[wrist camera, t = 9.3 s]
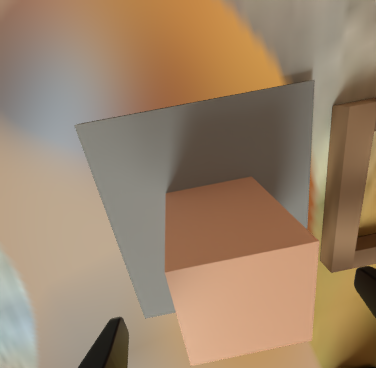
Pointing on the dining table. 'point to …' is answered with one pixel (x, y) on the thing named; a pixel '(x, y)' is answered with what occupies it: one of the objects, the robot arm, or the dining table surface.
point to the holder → (348, 187)
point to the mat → (195, 167)
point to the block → (238, 270)
